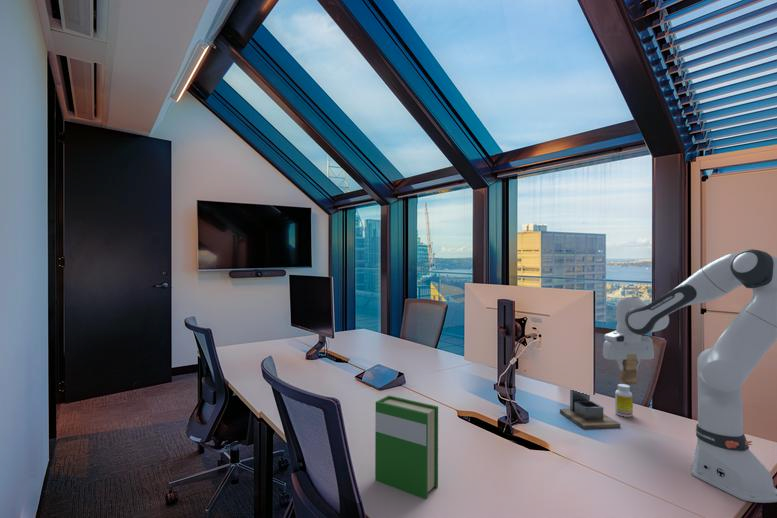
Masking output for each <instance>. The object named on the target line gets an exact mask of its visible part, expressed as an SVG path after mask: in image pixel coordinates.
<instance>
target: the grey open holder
mask: <svg viewBox="0 0 777 518" xmlns="http://www.w3.org/2000/svg"><path fill="white" fill-rule="evenodd" d="M590 397H591V394H590V395H587V394H584V393H580V392H577V391H574V390H570V389H569V407H570V408H569V409H570V410H571V411H572V412H575V414H577V415H578V416H580V417H581V418H583V419H584V420H601V419H603V414H604V407H603V406H601V405H600V404H599V403H597V402H594V401H593V400H591V399H590Z"/></svg>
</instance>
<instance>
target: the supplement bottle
mask: <svg viewBox="0 0 777 518" xmlns="http://www.w3.org/2000/svg"><path fill="white" fill-rule="evenodd" d="M630 389H631V386H630V384H625V383H619V384H617V389H616V390H615V392H614V395H615V396H614V398H615V400H614V401H615V402H614V407H615V408H614V409H615V411H614V412H615V414H616V415H618V416H620V417H623V416H624V417H625V418H631V417H632V416H634V415H633V410H634V409H633V402H634V401H633V400H634V399H633V393H632V392H631V391H630Z"/></svg>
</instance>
